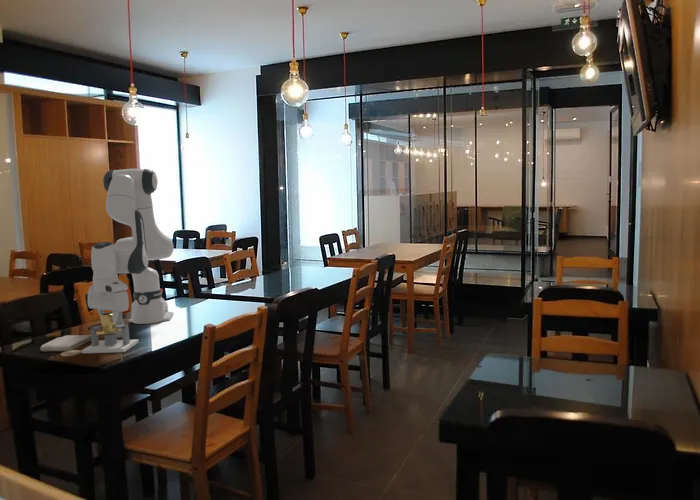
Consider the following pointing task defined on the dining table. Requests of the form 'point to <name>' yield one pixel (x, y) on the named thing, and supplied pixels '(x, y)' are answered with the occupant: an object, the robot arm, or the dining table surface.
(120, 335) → the flask
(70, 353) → the cork coaster
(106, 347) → the white peg board
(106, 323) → the bayonet cap
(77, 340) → the washcloth
